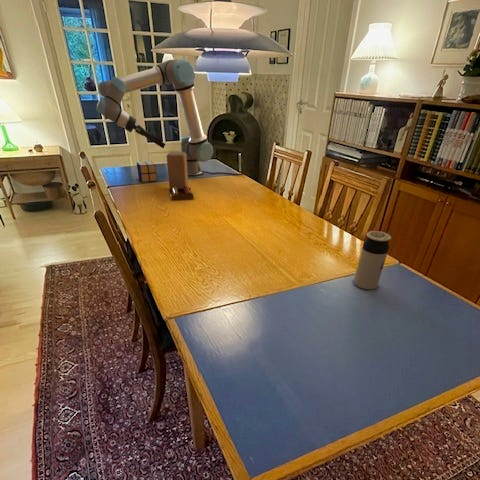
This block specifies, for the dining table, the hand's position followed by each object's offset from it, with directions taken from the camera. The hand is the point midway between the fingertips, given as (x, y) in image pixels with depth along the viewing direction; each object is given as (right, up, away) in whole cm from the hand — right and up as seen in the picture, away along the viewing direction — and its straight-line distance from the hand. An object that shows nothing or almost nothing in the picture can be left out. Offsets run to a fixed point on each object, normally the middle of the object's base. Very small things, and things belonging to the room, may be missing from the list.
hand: (162, 144), depth 196 cm
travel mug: (+88, -89, -77) cm, 147 cm away
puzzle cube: (-16, -9, +27) cm, 33 cm away
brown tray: (+11, -30, 0) cm, 32 cm away
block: (+8, -22, +11) cm, 26 cm away
